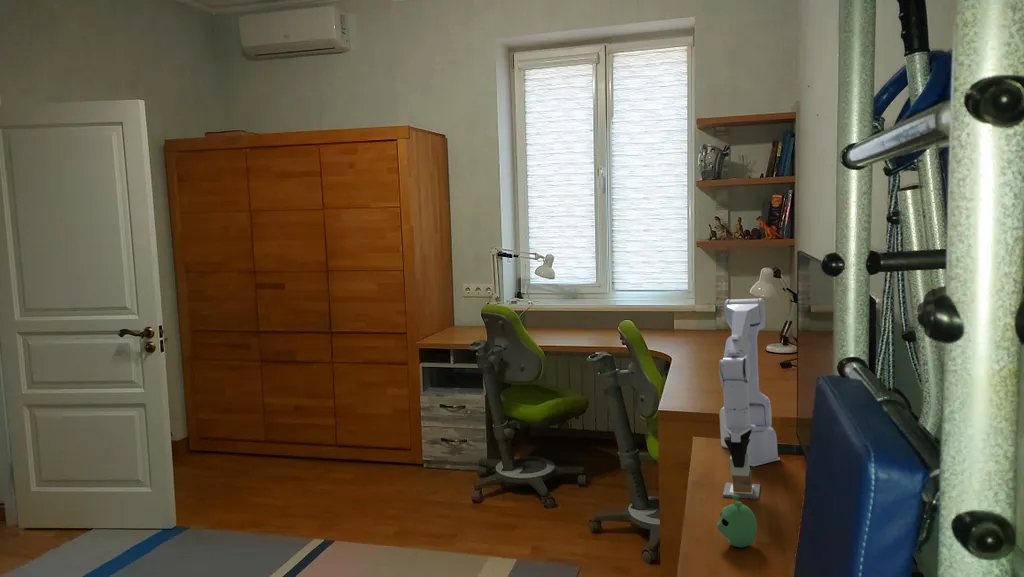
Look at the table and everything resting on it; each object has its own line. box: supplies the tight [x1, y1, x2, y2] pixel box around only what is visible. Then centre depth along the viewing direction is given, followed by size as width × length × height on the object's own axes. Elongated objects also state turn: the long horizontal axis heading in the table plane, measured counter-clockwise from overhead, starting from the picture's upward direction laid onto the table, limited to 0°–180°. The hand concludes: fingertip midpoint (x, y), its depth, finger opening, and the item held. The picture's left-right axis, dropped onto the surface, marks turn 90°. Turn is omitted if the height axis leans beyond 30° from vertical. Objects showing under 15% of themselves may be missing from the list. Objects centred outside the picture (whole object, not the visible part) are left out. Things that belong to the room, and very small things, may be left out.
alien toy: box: [716, 495, 758, 548], centre depth 139 cm, size 7×8×10 cm
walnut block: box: [731, 470, 753, 493], centre depth 167 cm, size 4×4×4 cm
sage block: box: [729, 454, 751, 476], centre depth 167 cm, size 4×4×4 cm
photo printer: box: [718, 406, 730, 449], centre depth 203 cm, size 10×4×12 cm, turn 123°
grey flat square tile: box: [722, 482, 761, 500], centre depth 167 cm, size 8×8×1 cm
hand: (740, 462), depth 167 cm, fingers open, 5 cm apart
